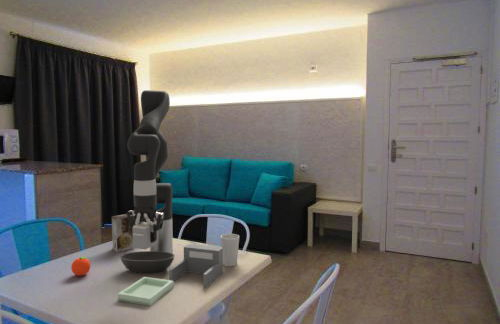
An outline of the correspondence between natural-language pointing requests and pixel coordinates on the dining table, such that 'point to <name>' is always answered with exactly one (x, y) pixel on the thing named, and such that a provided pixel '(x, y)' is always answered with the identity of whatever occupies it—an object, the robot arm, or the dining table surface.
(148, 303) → the tray
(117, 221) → the coffee box
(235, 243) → the cup
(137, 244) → the white block
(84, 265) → the clementine
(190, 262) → the bay
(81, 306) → the dining table surface
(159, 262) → the bowl
